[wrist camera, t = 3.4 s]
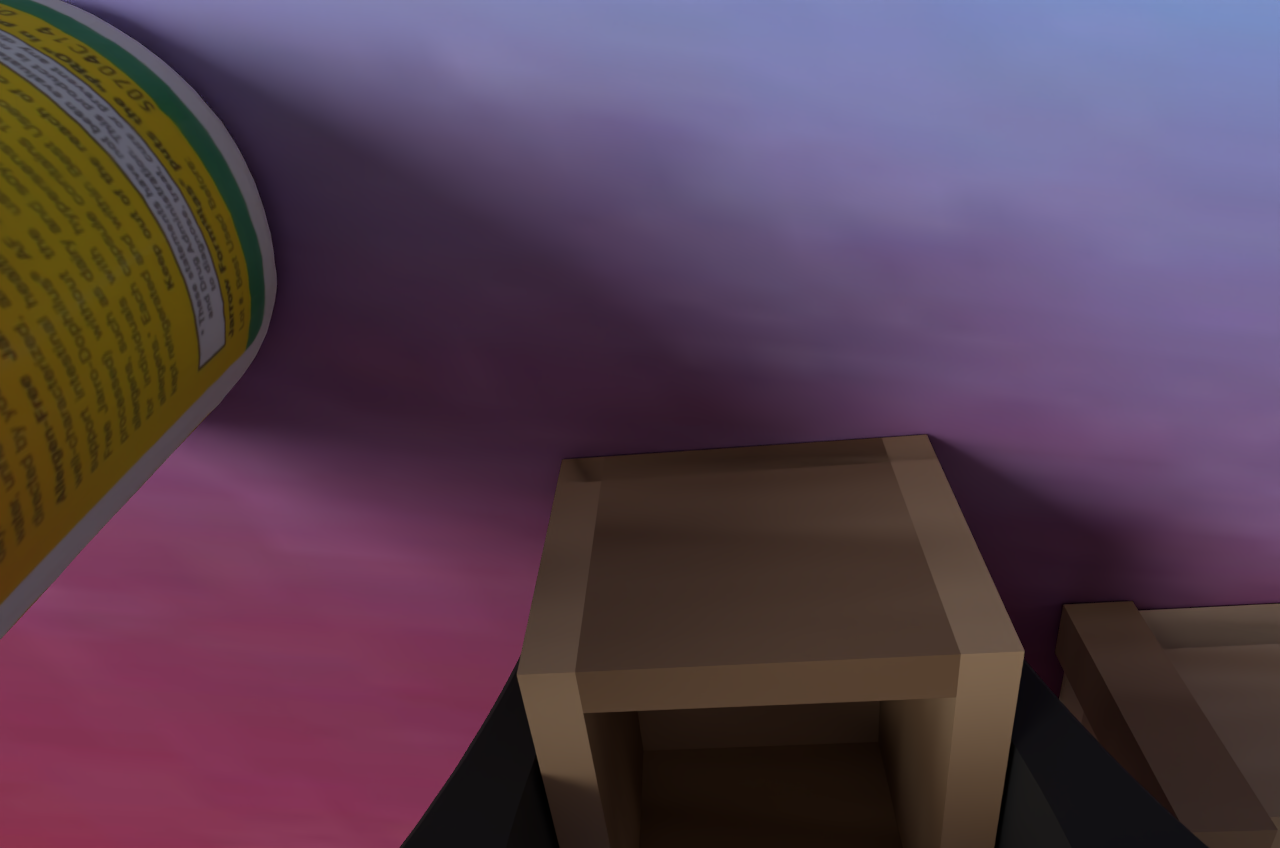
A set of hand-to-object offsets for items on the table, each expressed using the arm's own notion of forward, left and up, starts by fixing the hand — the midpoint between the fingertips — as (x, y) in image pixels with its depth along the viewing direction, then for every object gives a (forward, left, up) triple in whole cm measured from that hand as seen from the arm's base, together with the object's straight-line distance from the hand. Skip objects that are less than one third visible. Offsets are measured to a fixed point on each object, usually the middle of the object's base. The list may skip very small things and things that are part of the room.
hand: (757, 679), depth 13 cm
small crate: (0, 0, -1) cm, 1 cm away
